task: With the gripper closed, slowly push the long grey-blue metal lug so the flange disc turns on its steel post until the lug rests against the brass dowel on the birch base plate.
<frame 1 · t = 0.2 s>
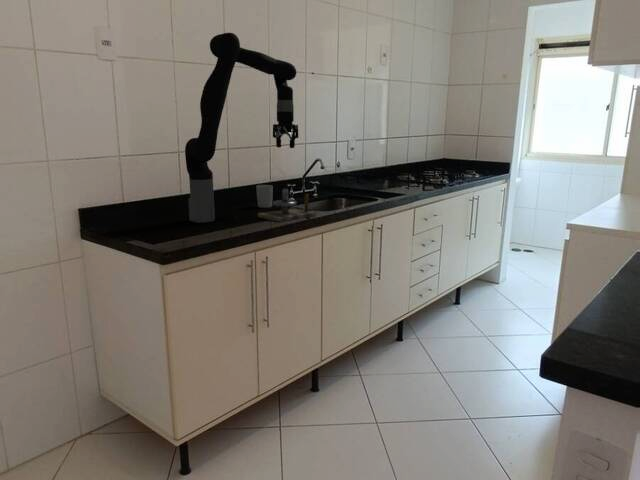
hand: (285, 147, 225), 28 cm above the counter, fingers open, 8 cm apart
white cup: (265, 207, 238), on the counter
flange: (285, 197, 213), point 8 cm above the counter, hinge at 50.0°
flange base: (285, 217, 211), on the counter
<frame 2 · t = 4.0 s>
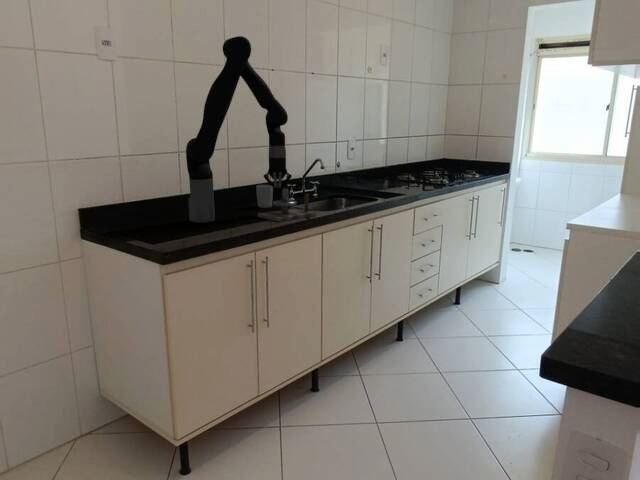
hand: (277, 195, 220), 8 cm above the counter, fingers closed
flange: (285, 197, 213), point 8 cm above the counter, hinge at 49.9°, touching gripper
everything else where it was.
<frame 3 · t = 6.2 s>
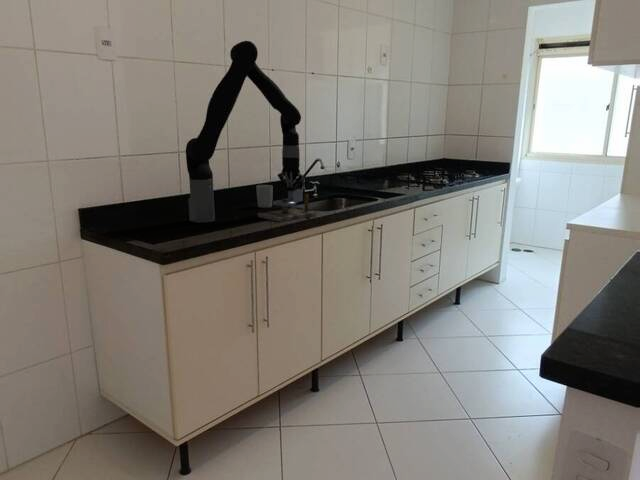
hand: (291, 195, 220), 8 cm above the counter, fingers closed
flange: (289, 197, 213), point 8 cm above the counter, hinge at 19.6°, touching gripper
everything else where it was.
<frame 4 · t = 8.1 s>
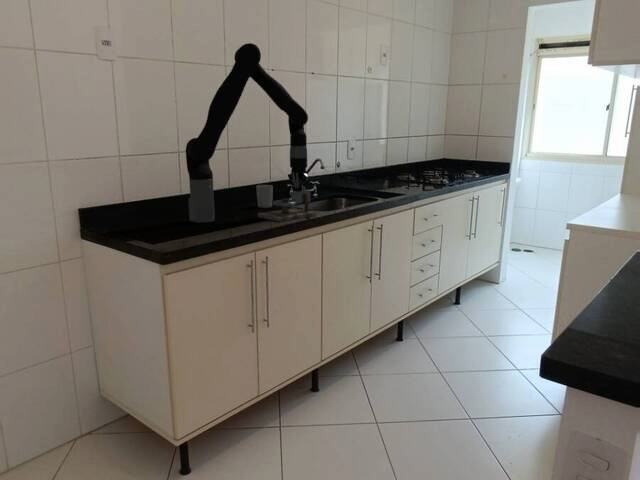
hand: (298, 196, 219), 8 cm above the counter, fingers closed
flange: (292, 197, 212), point 8 cm above the counter, hinge at -1.8°, touching flange base
everything else where it was.
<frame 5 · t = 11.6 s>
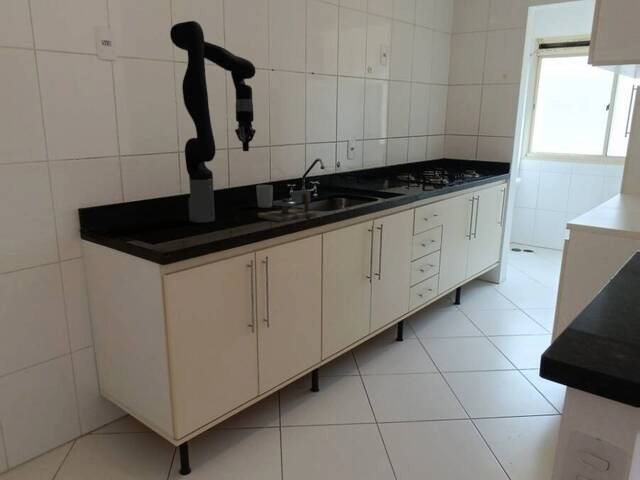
hand: (245, 151, 218), 27 cm above the counter, fingers closed
nothing on the counter moved.
at the end: flange at -2° (first picture: +50°); white cup moved 0.2 cm from its start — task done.
